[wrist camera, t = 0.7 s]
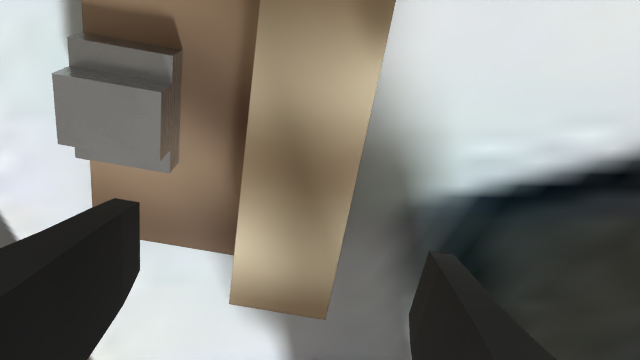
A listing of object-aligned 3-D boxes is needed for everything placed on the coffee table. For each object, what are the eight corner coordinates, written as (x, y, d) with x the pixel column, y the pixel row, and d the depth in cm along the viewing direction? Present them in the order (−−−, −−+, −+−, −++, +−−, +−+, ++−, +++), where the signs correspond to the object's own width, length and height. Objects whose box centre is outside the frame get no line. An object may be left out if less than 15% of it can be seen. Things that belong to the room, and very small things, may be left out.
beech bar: (328, 262, 23) (325, 319, 20) (247, 249, 23) (229, 303, 20) (388, -24, 18) (399, -17, 14) (281, -44, 17) (264, -42, 14)
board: (317, 261, 24) (317, 269, 23) (99, 225, 24) (93, 231, 23) (377, -41, 18) (378, -41, 17) (84, -95, 18) (76, -97, 17)
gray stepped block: (178, 162, 21) (159, 186, 19) (89, 147, 21) (60, 169, 19) (182, 50, 19) (161, 62, 17) (83, 32, 19) (49, 42, 17)
